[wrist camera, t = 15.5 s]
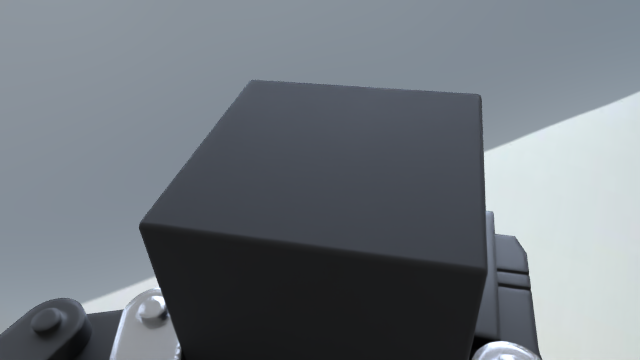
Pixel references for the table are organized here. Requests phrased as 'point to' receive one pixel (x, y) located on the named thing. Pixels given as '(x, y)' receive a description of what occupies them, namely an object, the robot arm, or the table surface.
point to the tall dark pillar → (327, 227)
